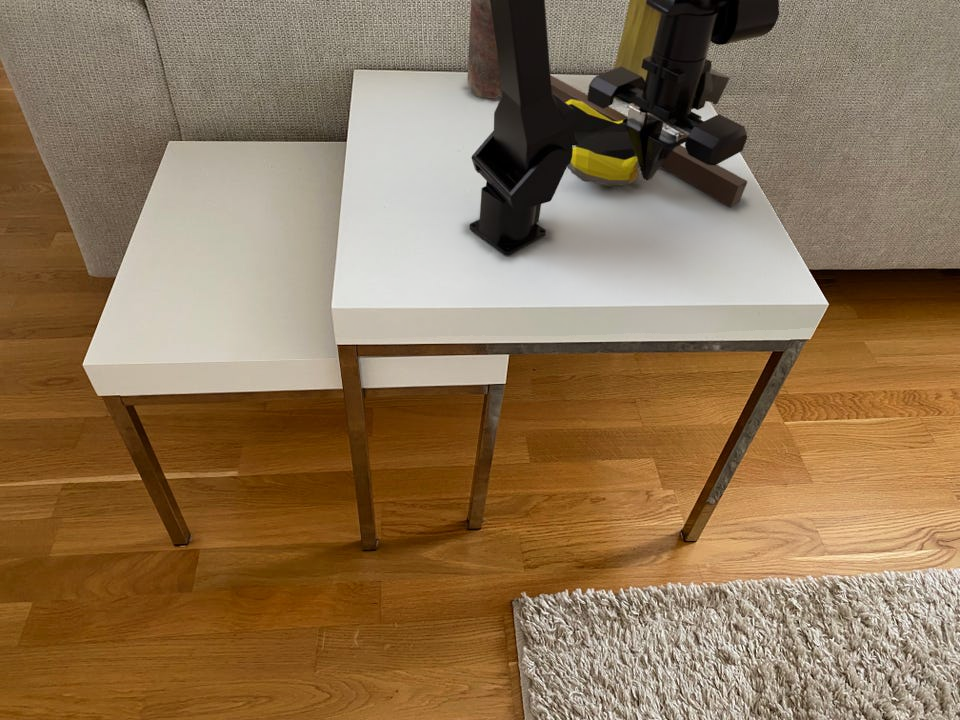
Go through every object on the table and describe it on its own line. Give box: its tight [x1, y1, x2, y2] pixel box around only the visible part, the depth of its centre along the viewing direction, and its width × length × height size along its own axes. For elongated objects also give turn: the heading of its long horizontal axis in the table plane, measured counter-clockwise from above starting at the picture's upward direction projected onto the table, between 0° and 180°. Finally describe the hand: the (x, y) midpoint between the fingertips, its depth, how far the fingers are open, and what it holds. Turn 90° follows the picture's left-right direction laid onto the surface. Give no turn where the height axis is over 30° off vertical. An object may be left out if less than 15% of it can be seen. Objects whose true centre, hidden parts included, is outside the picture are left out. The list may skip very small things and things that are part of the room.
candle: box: [467, 0, 502, 99], centre depth 97 cm, size 8×7×20 cm
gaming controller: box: [565, 99, 640, 189], centre depth 89 cm, size 15×6×10 cm
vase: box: [613, 0, 660, 101], centre depth 100 cm, size 6×6×14 cm
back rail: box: [551, 75, 748, 208], centre depth 94 cm, size 2×34×3 cm, turn 42°
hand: (647, 178), depth 86 cm, fingers closed
